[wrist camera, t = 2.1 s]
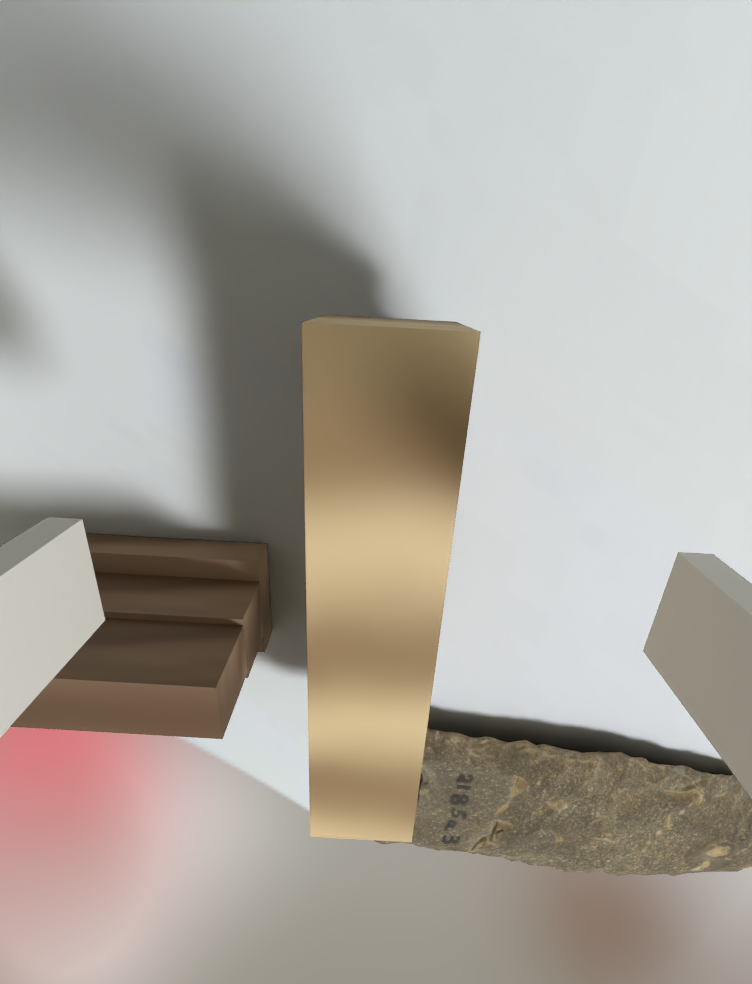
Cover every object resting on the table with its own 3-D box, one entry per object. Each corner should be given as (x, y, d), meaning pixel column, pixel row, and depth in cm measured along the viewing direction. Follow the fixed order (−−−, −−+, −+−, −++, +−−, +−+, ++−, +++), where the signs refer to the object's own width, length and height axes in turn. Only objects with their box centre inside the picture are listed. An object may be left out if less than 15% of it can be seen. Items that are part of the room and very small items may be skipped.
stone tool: (363, 820, 29) (730, 865, 30) (361, 872, 27) (762, 919, 28) (392, 698, 25) (818, 755, 26) (393, 745, 22) (867, 806, 23)
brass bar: (324, 314, 14) (301, 322, 10) (456, 322, 14) (480, 331, 10) (323, 743, 21) (310, 836, 18) (407, 748, 21) (411, 842, 18)
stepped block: (48, 531, 21) (-106, 638, 14) (267, 543, 20) (211, 657, 14) (73, 619, 23) (-52, 747, 16) (272, 630, 23) (225, 764, 16)
